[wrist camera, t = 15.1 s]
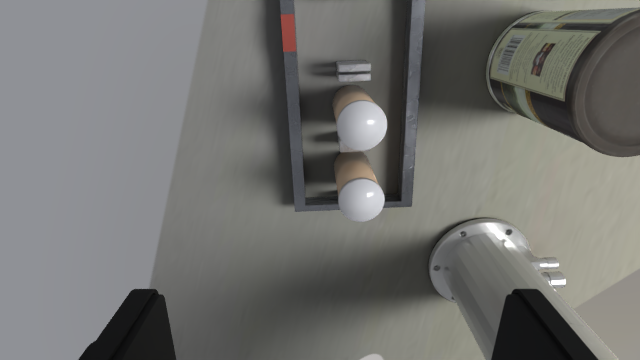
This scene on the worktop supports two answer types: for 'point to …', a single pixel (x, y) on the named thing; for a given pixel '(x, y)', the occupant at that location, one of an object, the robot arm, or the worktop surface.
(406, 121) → the frame
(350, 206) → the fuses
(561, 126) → the coffee can
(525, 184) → the worktop surface
